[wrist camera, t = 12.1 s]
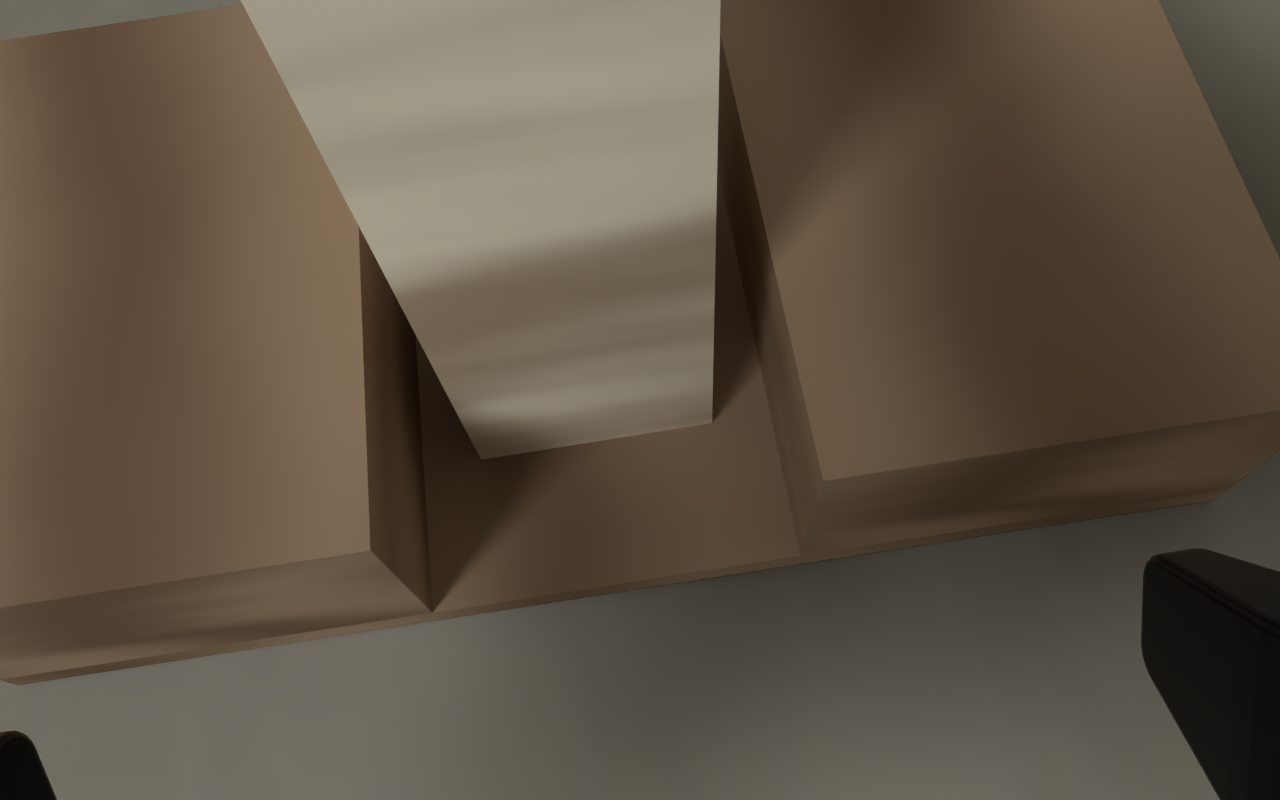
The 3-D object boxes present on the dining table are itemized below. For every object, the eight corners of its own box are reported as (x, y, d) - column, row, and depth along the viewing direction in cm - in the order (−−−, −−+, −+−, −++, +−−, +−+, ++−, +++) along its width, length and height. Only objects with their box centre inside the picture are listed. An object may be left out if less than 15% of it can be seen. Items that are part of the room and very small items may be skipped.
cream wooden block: (712, 422, 18) (727, -349, 7) (481, 459, 18) (106, -256, 7) (666, 185, 20) (618, -708, 9) (458, 218, 20) (145, -640, 9)
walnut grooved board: (1034, 44, 22) (1101, -123, 18) (1213, 499, 18) (1345, 400, 14) (69, 189, 22) (-60, 49, 18) (17, 685, 17) (-164, 633, 14)
